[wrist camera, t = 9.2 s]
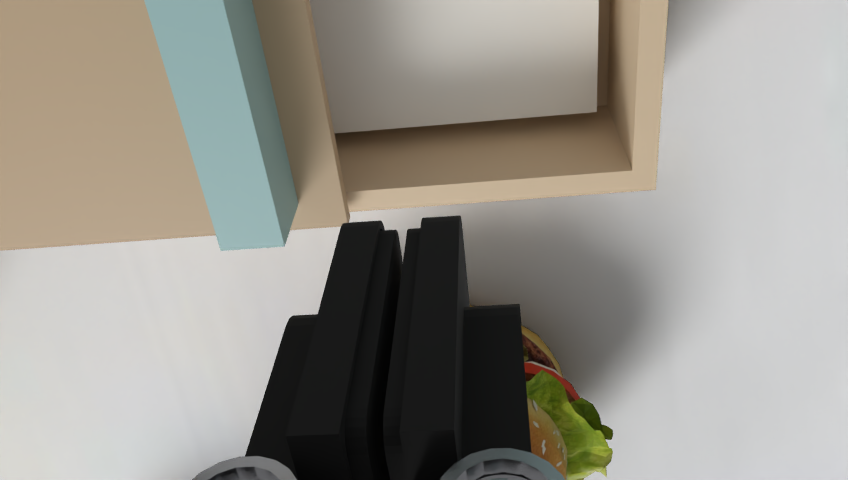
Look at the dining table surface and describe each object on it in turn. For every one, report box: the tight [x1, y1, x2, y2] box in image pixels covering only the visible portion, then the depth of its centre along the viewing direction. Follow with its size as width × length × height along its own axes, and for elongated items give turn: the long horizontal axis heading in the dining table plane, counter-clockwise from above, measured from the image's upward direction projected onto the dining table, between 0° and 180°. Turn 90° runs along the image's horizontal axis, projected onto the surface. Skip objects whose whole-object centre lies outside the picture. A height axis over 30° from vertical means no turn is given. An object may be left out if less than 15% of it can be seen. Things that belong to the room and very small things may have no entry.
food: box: [470, 305, 613, 480], centre depth 37 cm, size 14×14×8 cm
